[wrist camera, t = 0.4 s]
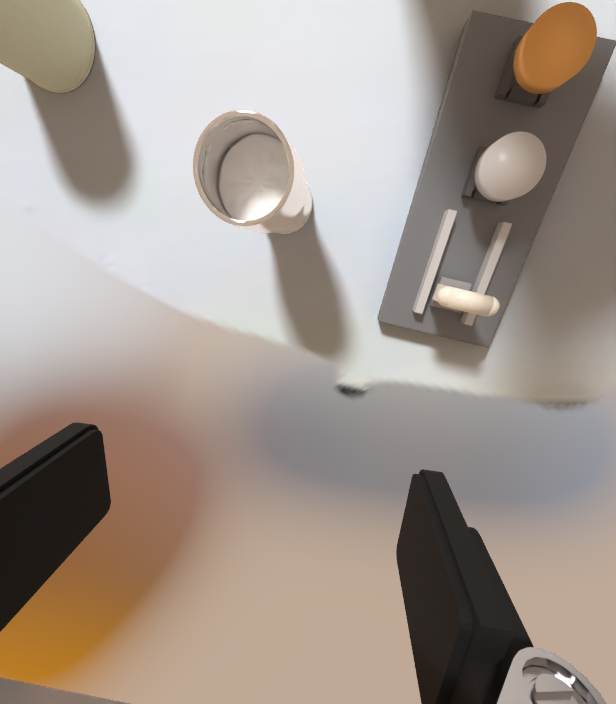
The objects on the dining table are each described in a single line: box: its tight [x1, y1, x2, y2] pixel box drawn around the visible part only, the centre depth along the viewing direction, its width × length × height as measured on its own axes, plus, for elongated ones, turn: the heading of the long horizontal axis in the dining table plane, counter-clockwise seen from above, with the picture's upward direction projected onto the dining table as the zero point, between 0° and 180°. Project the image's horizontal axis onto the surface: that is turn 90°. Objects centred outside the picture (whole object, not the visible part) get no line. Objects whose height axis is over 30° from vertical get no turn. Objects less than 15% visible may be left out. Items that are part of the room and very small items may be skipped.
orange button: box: [513, 2, 597, 94], centre depth 25 cm, size 5×5×3 cm
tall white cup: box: [193, 110, 312, 234], centre depth 27 cm, size 7×7×15 cm
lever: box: [430, 276, 500, 317], centre depth 30 cm, size 3×5×6 cm, turn 77°
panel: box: [378, 11, 616, 348], centre depth 31 cm, size 27×12×3 cm, turn 167°
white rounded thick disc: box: [475, 132, 546, 202], centre depth 27 cm, size 5×5×3 cm
